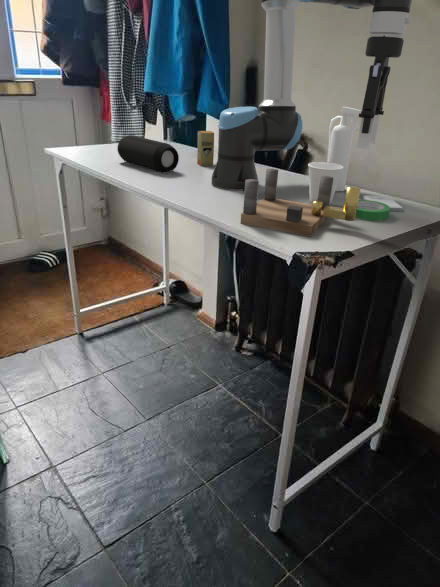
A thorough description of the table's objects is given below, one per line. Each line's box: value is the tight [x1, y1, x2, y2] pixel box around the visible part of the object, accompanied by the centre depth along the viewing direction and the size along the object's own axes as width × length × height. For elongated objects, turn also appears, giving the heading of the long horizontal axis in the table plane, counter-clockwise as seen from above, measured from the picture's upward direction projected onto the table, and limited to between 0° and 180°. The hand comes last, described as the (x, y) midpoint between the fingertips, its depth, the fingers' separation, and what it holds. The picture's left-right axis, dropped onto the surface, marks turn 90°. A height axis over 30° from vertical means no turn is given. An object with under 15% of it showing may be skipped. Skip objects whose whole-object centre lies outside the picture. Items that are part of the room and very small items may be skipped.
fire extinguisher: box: [326, 106, 362, 192], centre depth 141 cm, size 7×12×25 cm, turn 39°
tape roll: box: [355, 199, 391, 222], centre depth 123 cm, size 11×11×3 cm
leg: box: [311, 185, 362, 222], centre depth 109 cm, size 11×3×8 cm, turn 65°
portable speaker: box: [117, 134, 180, 174], centre depth 162 cm, size 26×10×10 cm, turn 45°
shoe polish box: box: [196, 130, 215, 167], centre depth 169 cm, size 5×5×12 cm
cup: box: [307, 161, 344, 206], centre depth 128 cm, size 10×10×11 cm
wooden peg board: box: [240, 168, 333, 237], centre depth 113 cm, size 18×18×10 cm
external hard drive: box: [362, 194, 404, 212], centre depth 133 cm, size 2×8×12 cm
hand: (365, 145), depth 107 cm, fingers open, 8 cm apart
